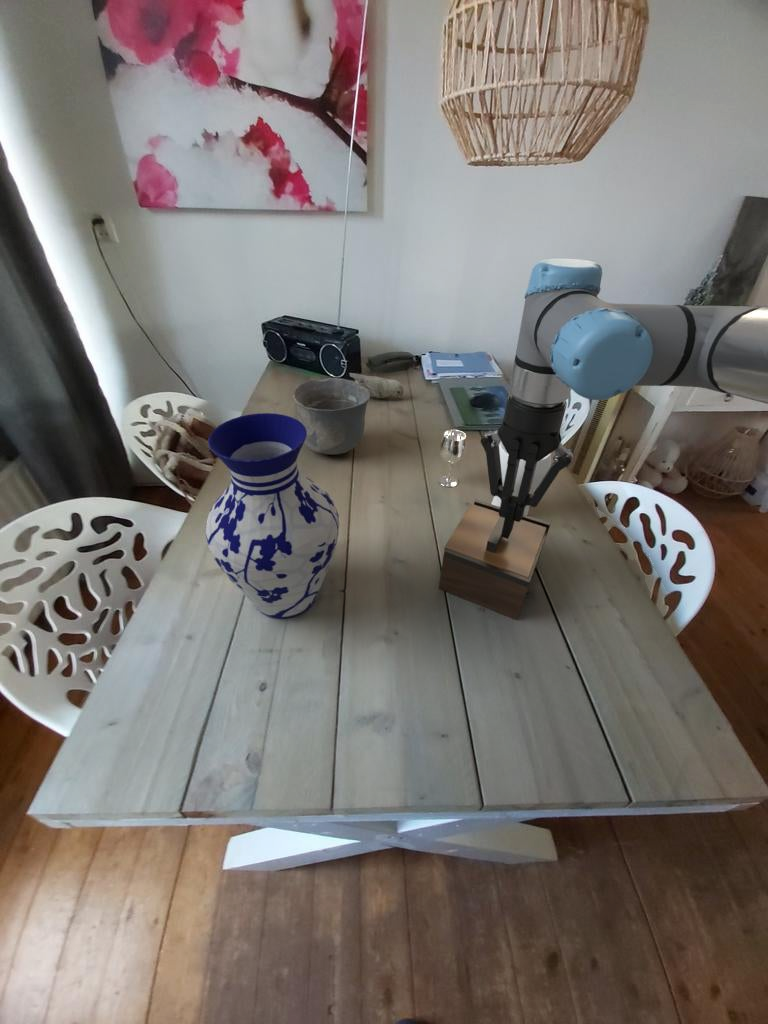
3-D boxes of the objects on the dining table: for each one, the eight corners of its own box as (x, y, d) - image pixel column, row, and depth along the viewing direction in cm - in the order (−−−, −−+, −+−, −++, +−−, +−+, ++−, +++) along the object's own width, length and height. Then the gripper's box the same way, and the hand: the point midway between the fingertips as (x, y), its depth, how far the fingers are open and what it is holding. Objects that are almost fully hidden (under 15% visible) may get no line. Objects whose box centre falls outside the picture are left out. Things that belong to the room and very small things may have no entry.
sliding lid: (527, 581, 67) (531, 568, 65) (443, 550, 71) (445, 538, 70) (545, 530, 76) (549, 518, 74) (470, 506, 81) (472, 494, 79)
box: (516, 620, 71) (529, 582, 65) (438, 588, 75) (444, 551, 70) (538, 559, 82) (551, 522, 76) (468, 535, 86) (475, 499, 81)
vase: (272, 664, 64) (231, 500, 45) (205, 592, 74) (149, 433, 55) (366, 592, 74) (365, 436, 55) (297, 538, 84) (276, 390, 65)
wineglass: (432, 484, 99) (437, 437, 92) (440, 472, 103) (446, 426, 96) (456, 491, 97) (464, 444, 90) (464, 478, 101) (471, 432, 94)
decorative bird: (402, 403, 131) (403, 379, 126) (348, 400, 132) (348, 376, 127) (403, 396, 135) (404, 372, 130) (351, 393, 136) (350, 369, 131)
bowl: (375, 435, 116) (376, 380, 106) (363, 472, 102) (363, 413, 93) (310, 429, 118) (305, 374, 108) (289, 464, 104) (281, 405, 95)
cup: (505, 488, 99) (519, 428, 89) (545, 511, 93) (565, 450, 83) (473, 506, 93) (485, 444, 84) (514, 532, 87) (531, 469, 78)
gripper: (593, 395, 57) (551, 531, 72) (498, 377, 62) (476, 509, 77) (584, 418, 52) (540, 560, 67) (481, 397, 57) (461, 534, 72)
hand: (506, 532), depth 72 cm, fingers closed
